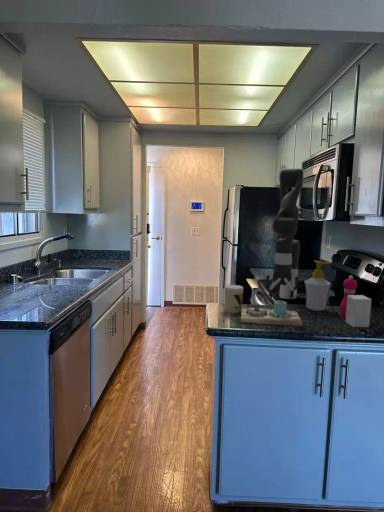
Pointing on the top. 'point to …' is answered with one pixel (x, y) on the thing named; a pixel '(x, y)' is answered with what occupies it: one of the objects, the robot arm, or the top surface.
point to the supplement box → (358, 310)
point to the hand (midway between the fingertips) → (280, 297)
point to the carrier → (268, 317)
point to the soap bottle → (317, 289)
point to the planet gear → (280, 310)
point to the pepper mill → (347, 293)
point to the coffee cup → (233, 298)
